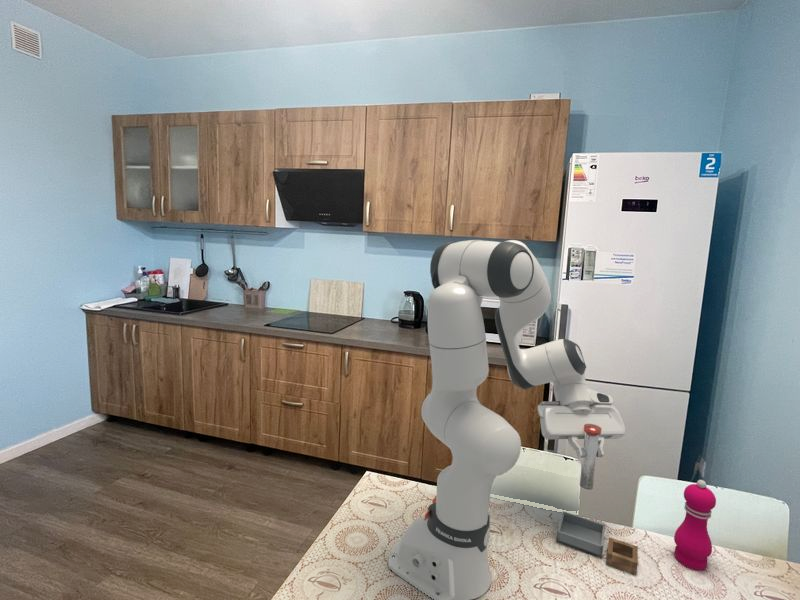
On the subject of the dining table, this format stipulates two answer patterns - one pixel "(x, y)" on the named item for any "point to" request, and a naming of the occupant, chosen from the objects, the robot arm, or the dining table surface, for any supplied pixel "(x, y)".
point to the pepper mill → (695, 527)
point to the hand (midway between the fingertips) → (591, 456)
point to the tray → (581, 534)
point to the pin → (589, 455)
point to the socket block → (622, 556)
